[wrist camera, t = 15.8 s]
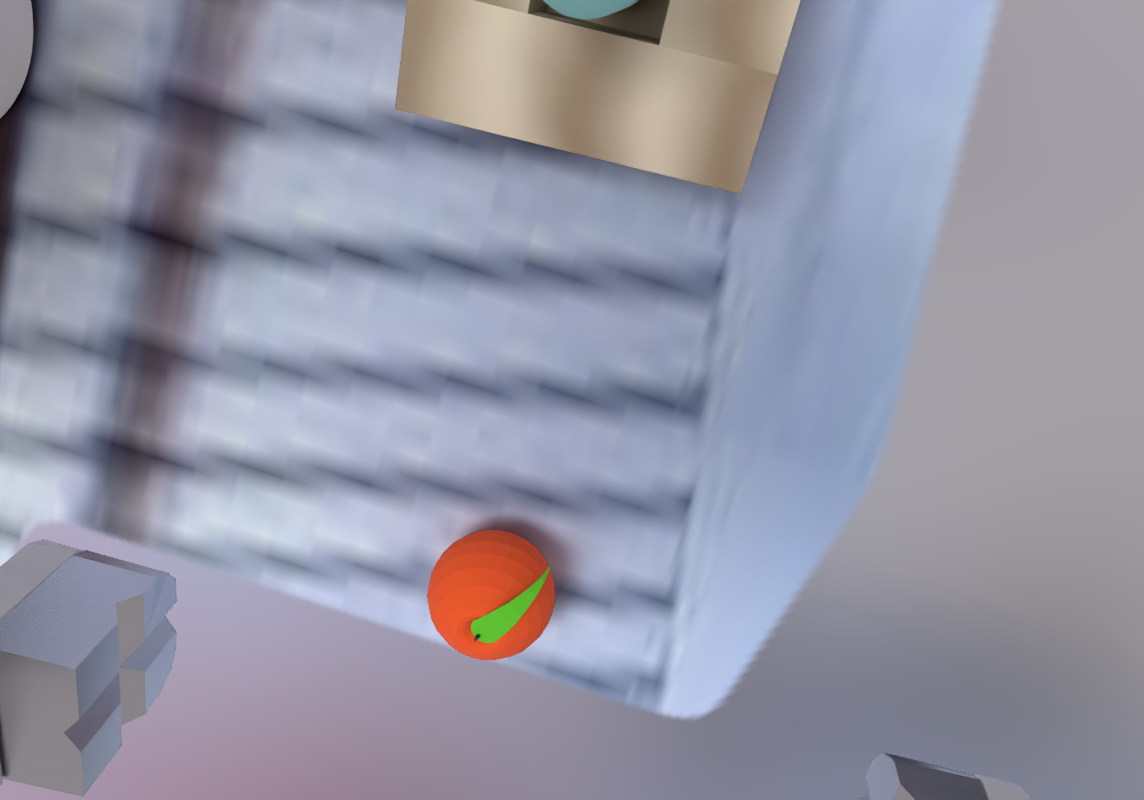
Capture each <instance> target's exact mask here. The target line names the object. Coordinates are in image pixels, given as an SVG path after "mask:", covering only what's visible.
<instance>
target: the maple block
mask: <svg viewBox="0 0 1144 800" xmlns="http://www.w3.org/2000/svg"><path fill="white" fill-rule="evenodd" d="M800 1H801V0H642V1H640V2H639V3H637V4H635V5H633V6H631V7H628V8H626V9H623V10H620V11H617V12H615V13H612V14H609V15H607V16H603V17H600V18H595V19H578V18H572V17H569V16H566V15H563V14H561V13H559V12H557V11H556V10H554V9H553V8H551V7H550V6H549V5H548V4H546V3H545V2H544V1H543V0H408V2H407V11H406V19H405V28H404V36H403V45H402V53H401V62H400V70H399V79H398V87H397V96H396V104H395V109H397V110H401V111H405V112H409V113H413V114H417V115H421V116H425V117H429V118H433V119H437V120H442V121H446V122H450V123H454V124H458V125H462V126H466V127H470V128H474V129H478V130H482V131H486V132H490V133H495V134H499V135H503V136H507V137H511V138H515V139H519V140H523V141H527V142H531V143H535V144H539V145H543V146H547V147H552V148H556V149H560V150H564V151H568V152H572V153H576V154H580V155H584V156H588V157H592V158H596V159H600V160H604V161H609V162H613V163H617V164H621V165H625V166H629V167H633V168H637V169H641V170H645V171H649V172H653V173H657V174H661V175H666V176H670V177H674V178H678V179H682V180H686V181H690V182H694V183H698V184H702V185H706V186H710V187H714V188H718V189H723V190H727V191H731V192H735V193H739V194H741V193H742V190H743V187H744V183H745V180H746V177H747V174H748V170H749V167H750V164H751V161H752V157H753V154H754V151H755V148H756V144H757V141H758V138H759V134H760V131H761V128H762V125H763V121H764V118H765V115H766V112H767V108H768V105H769V102H770V99H771V95H772V92H773V89H774V85H775V82H776V79H777V76H778V72H779V69H780V66H781V63H782V59H783V56H784V53H785V50H786V46H787V43H788V40H789V36H790V33H791V30H792V27H793V23H794V20H795V17H796V14H797V10H798V7H799V4H800Z"/></svg>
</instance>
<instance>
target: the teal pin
mask: <svg viewBox="0 0 1144 800" xmlns="http://www.w3.org/2000/svg"><path fill="white" fill-rule="evenodd" d="M543 1H544V2H545V3H546V4H548V5H549V6H550V7H551V8H553V9H554V10H556V11H557V12H559V13H561V14H563V15H566V16H569V17H572V18H578V19H595V18H600V17H603V16H607V15H609V14H612V13H615V12H617V11H620V10H623V9H626V8H628V7H631V6H633V5H635V4H637V3H639V2H640V1H642V0H543Z"/></svg>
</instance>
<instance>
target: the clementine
mask: <svg viewBox="0 0 1144 800" xmlns="http://www.w3.org/2000/svg"><path fill="white" fill-rule="evenodd" d="M550 567H551V565H550V566H548V564H547V561H546V559H545V558H544V556H543V555H542V554H541V553H540V551H539V550H538V549H537V548H536V547H535V546H534V545H533V544H531V543H530V542H529V541H528V540H526V539H524V538H522V537H520V536H518V535H516V534H514V533H510V532H506V531H501V530H483V531H478V532H474V533H471V534H469V535H467V536H465V537H463V538H461V539H460V540H458V541H456V542H454V543H453V544H452V545H451V546H450V547H449V548H448V549H447V550H446V551H445V552H444V553H443V554H442V556H441V557H440V559H439V560H438V562H437V563H436V565H435V567H434V569H433V571H432V573H431V578H430V582H429V588H428V595H427V598H428V604H429V610H430V615H431V619H432V621H433V623H434V625H435V627H436V629H437V631H438V632H439V633H440V634H441V636H442V637H443V638H444V639H445V640H446V641H447V643H448V644H449V645H450V646H452V647H453V648H454V649H456V650H457V651H458V652H460V653H463V654H465V655H467V656H469V657H472V658H477V659H481V660H496V659H502V658H506V657H510V656H513V655H515V654H517V653H520V652H522V651H524V650H525V649H526V648H527V647H529V646H530V645H531V644H532V643H533V642H534V641H535V640H536V639H537V638H539V637H540V636H541V634H542V632H543V631H544V629H545V628H546V626H547V624H548V622H549V620H550V617H551V615H552V611H553V607H554V603H555V588H554V578H553V576H552V573H551V571H550Z"/></svg>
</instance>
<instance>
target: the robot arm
mask: <svg viewBox="0 0 1144 800" xmlns="http://www.w3.org/2000/svg"><path fill="white" fill-rule="evenodd" d="M32 46H33V14H32V4H31V0H0V118H1V117H2V116H3V115H4V114H5V113H6V112H7V111H8V110H9V108H10V107H11V106H12V104H13V103H14V101H15V100H16V98H17V96H18V94H19V93H20V91H21V88H22V86H23V84H24V81H25V78H26V76H27V72H28V69H29V65H30V60H31V54H32ZM176 601H177V599H176V579H175V578H174V577H173V576H171V575H170V574H169V573H166V572H163V571H159V570H155V569H151V568H148V567H145V566H141V565H137V564H134V563H130V562H126V561H123V560H119V559H116V558H112V557H109V556H105V555H101V554H98V553H94V552H90V551H87V550H85V551H83V550H79V549H76V548H72V547H69V546H65V545H62V544H58V543H55V542H51V541H48V540H44V539H43V540H39V541H36V542H32V543H29V544H28V545H26V546H25V547H24V548H22V549H21V550H20V551H19V552H18V553H16V554H15V555H14V556H13V557H12V558H10V559H9V560H8V561H7V562H6V563H4V564H3V565H2V566H1V567H0V785H1V784H2V783H3V779H7V780H12V781H16V782H21V783H25V784H30V785H34V786H39V787H43V788H48V789H52V790H57V791H61V792H65V793H70V794H74V795H79V796H84V795H85V794H86V793H87V791H88V790H89V789H90V787H91V786H92V784H93V783H94V782H95V781H96V779H97V778H98V777H99V775H100V774H101V773H102V771H103V770H104V769H105V767H106V766H107V765H108V763H109V762H110V761H111V759H112V758H113V757H114V755H115V754H116V753H117V751H118V750H119V749H120V747H121V746H122V743H121V742H122V740H121V725H123V724H125V723H127V722H129V721H131V720H134V719H136V718H138V717H140V716H142V715H144V714H146V712H147V711H148V709H149V708H150V707H151V705H152V704H153V702H154V701H155V699H156V698H157V697H158V695H159V694H160V692H161V690H162V688H163V686H164V683H165V681H166V679H167V677H168V675H169V673H170V670H171V668H172V664H173V659H174V655H175V650H176V630H175V629H174V627H173V626H172V625H171V623H170V622H169V621H168V619H167V618H166V616H165V615H166V614H167V613H168V611H169V610H170V609H171V608H172V606H173V605H174V604H175V603H176ZM865 776H866V781H867V785H868V790H869V793H867V794H865V795H863V796H861V797H859V798H857V799H855V800H1029V797H1028V795H1027V794H1026V792H1025V791H1024V790H1022V788H1021V787H1020V786H1019V785H1018V784H1015V783H1011V782H1006V781H1001V780H998V779H993V778H989V777H985V776H981V775H977V774H968V773H966V772H963V771H959V770H954V769H950V768H946V767H942V766H938V765H934V764H930V763H926V762H921V761H917V760H913V759H909V758H905V757H901V756H897V755H893V754H888V753H884V752H883V753H882V754H880V755H879V756H878V757H876V758H875V759H874V760H873V762H872V763H871V765H870V767H869V769H868V771H867V772H866V774H865Z"/></svg>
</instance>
